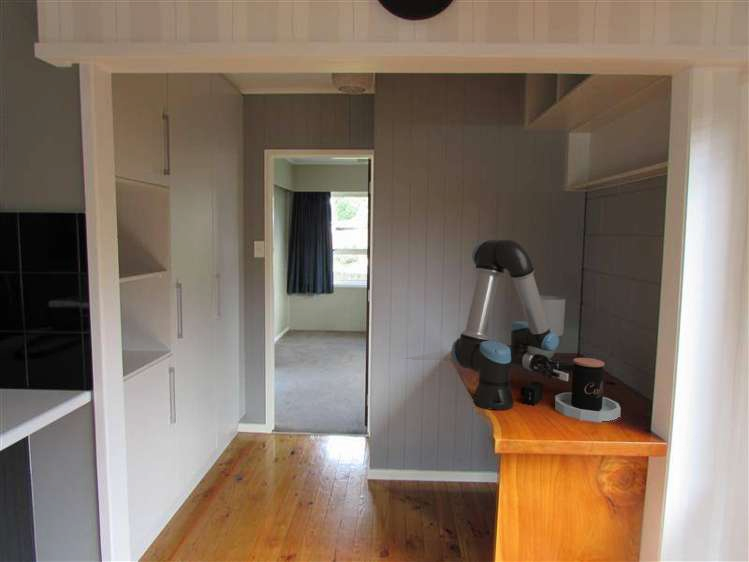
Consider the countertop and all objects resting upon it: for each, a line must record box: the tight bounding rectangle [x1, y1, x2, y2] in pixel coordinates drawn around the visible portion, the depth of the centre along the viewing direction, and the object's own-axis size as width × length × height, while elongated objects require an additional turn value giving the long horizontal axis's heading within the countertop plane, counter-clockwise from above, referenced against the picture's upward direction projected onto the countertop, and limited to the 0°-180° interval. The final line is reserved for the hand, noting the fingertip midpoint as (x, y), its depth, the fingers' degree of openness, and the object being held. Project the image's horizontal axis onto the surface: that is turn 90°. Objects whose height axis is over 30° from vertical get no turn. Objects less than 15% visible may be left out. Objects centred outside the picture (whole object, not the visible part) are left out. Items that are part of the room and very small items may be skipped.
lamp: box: [522, 294, 566, 361], centre depth 241 cm, size 20×20×35 cm
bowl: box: [554, 391, 622, 423], centre depth 176 cm, size 22×22×4 cm
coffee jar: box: [571, 357, 605, 411], centre depth 175 cm, size 11×11×18 cm
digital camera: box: [520, 380, 544, 407], centre depth 185 cm, size 10×5×7 cm, turn 143°
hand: (579, 375), depth 178 cm, fingers open, 13 cm apart
